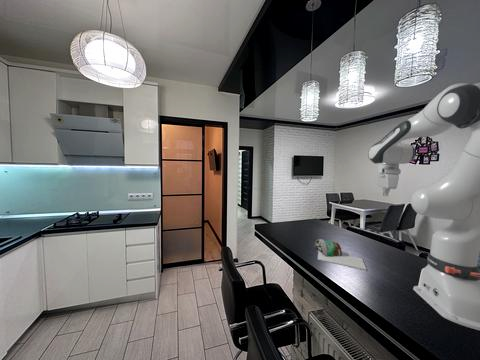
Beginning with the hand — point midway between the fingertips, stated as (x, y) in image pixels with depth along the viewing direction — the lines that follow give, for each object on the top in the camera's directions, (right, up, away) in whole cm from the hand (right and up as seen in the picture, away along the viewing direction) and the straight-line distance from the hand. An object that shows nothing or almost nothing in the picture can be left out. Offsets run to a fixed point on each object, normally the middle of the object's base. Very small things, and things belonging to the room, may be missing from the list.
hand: (385, 195), depth 104 cm
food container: (-27, -27, -2) cm, 38 cm away
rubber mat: (-30, -30, -10) cm, 44 cm away
